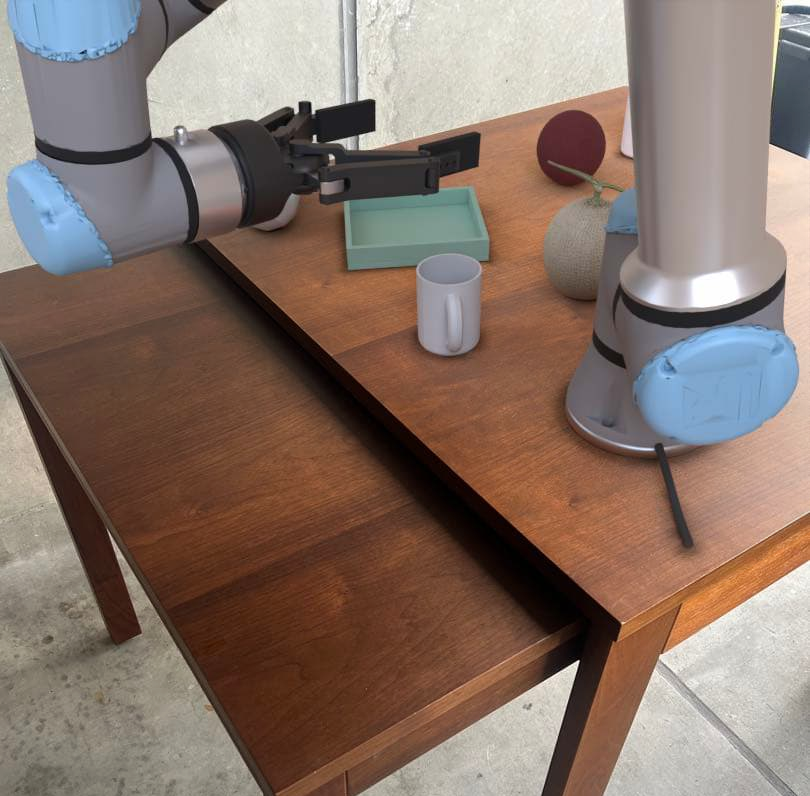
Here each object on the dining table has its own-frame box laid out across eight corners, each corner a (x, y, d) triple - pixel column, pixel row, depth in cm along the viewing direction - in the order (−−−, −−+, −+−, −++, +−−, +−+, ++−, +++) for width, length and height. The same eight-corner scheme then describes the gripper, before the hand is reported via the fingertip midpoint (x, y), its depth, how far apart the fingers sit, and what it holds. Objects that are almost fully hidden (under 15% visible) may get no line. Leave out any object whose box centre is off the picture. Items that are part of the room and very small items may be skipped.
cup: (474, 321, 103) (476, 251, 97) (488, 368, 96) (491, 296, 90) (415, 326, 103) (413, 256, 97) (424, 373, 96) (422, 301, 90)
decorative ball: (568, 202, 125) (575, 130, 118) (520, 181, 131) (524, 111, 123) (615, 182, 129) (625, 112, 122) (566, 163, 135) (573, 94, 128)
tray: (489, 260, 114) (489, 239, 112) (348, 270, 113) (346, 248, 111) (472, 206, 126) (473, 185, 123) (345, 214, 125) (343, 194, 123)
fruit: (644, 308, 104) (667, 185, 94) (552, 319, 103) (563, 195, 93) (616, 267, 111) (634, 148, 101) (529, 276, 111) (538, 157, 100)
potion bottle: (259, 254, 120) (272, 219, 132) (311, 210, 117) (320, 178, 128) (211, 200, 116) (229, 168, 128) (263, 153, 112) (277, 125, 124)
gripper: (318, 169, 57) (531, 116, 68) (131, 94, 71) (334, 59, 82) (322, 278, 62) (521, 211, 73) (147, 187, 76) (336, 143, 87)
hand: (422, 131), depth 78 cm, fingers open, 13 cm apart
